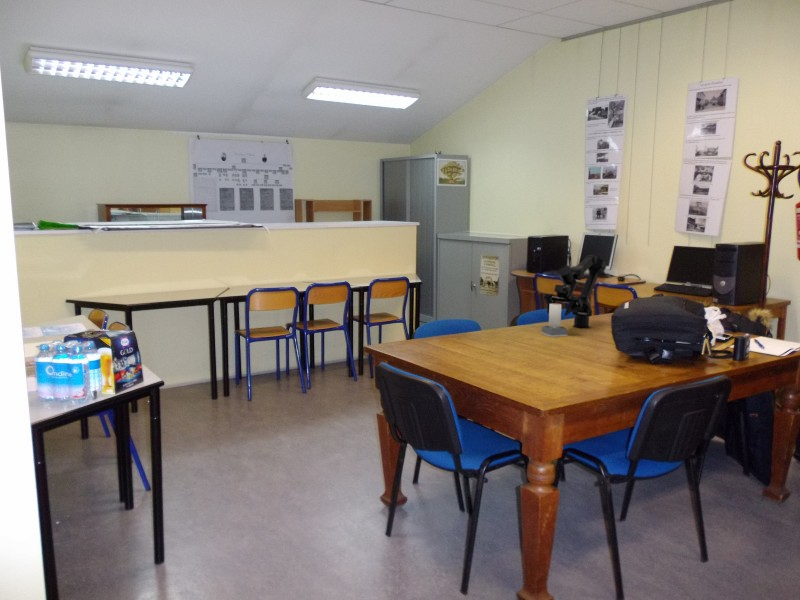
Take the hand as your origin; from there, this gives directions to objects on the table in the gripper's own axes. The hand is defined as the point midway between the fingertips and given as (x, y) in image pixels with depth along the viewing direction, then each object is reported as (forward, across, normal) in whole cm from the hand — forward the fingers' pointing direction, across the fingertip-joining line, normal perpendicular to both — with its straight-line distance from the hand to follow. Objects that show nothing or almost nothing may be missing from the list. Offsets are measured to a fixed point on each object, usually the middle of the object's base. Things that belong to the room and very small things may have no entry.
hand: (556, 314), depth 317 cm
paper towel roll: (+8, 0, +5) cm, 9 cm away
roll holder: (+8, 0, +6) cm, 10 cm away
